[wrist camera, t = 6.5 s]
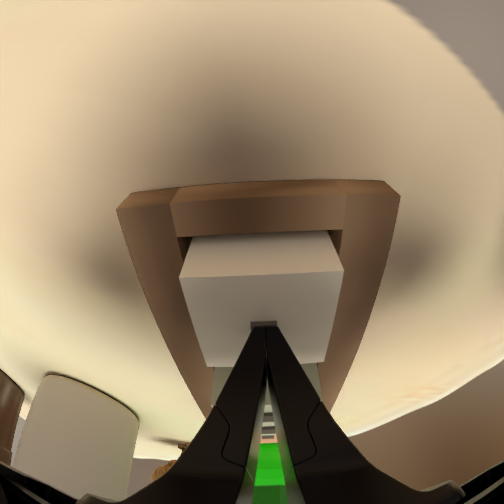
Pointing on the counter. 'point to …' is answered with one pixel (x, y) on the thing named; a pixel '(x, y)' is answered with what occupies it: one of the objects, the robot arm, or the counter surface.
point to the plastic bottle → (269, 477)
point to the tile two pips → (268, 420)
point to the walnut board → (257, 221)
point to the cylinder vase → (78, 440)
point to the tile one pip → (262, 291)
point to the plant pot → (8, 415)
